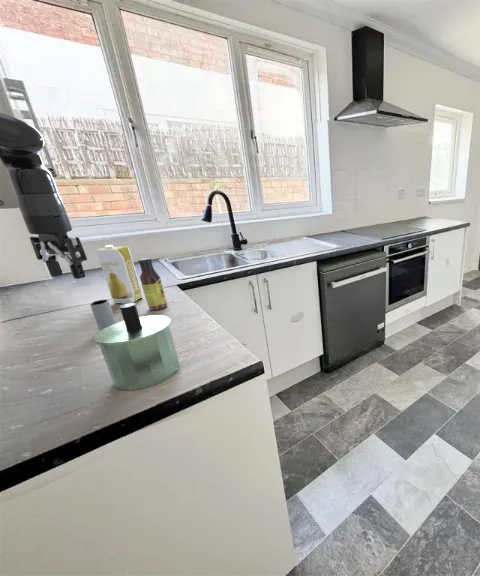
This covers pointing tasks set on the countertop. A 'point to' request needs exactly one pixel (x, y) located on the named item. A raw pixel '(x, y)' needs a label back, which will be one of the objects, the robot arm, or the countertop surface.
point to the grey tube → (103, 314)
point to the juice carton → (120, 274)
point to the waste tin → (142, 361)
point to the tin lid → (132, 327)
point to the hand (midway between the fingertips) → (68, 276)
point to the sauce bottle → (152, 285)
